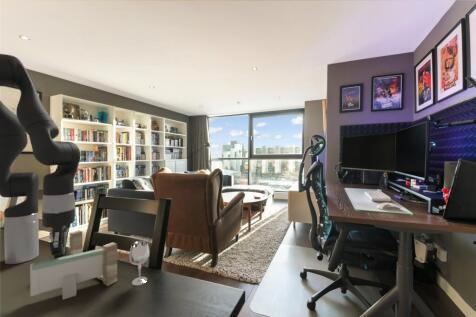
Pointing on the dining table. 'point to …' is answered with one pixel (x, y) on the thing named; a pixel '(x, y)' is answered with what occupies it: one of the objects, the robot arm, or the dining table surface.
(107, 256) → the gate frame
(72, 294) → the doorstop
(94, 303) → the dining table surface
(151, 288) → the dining table surface
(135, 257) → the wineglass
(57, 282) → the panel
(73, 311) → the dining table surface
